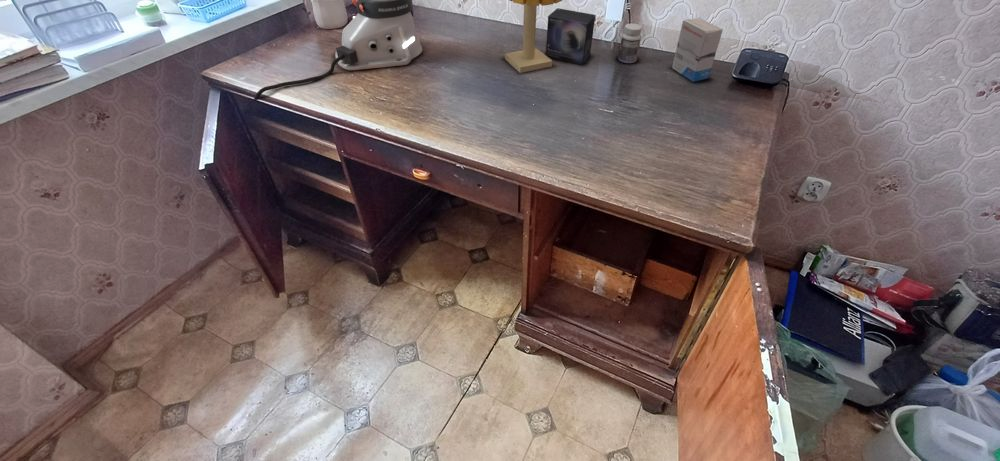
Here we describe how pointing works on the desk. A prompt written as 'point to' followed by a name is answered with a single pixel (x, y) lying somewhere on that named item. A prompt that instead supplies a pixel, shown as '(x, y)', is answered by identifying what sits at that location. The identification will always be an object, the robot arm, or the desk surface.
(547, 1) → the ring
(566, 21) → the small box
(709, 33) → the ink box
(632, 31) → the pill bottle
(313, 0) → the cup
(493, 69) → the desk surface
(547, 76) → the desk surface
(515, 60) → the tan peg stand
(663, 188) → the desk surface
